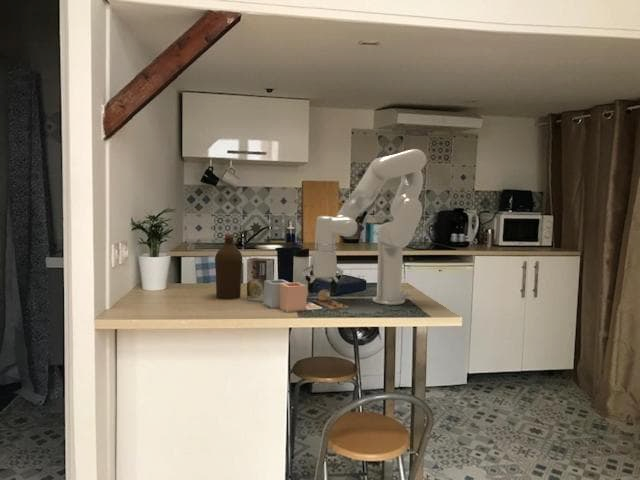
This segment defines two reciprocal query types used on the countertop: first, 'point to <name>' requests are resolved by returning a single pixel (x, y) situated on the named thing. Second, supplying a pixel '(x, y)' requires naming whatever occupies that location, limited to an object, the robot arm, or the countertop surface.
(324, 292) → the beech ball
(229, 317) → the countertop surface
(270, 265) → the coffee box
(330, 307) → the speckled flat slab
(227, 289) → the olive oil
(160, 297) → the countertop surface
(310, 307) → the card
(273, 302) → the grey square pot
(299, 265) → the travel mug
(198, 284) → the countertop surface
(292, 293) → the pink square planter
